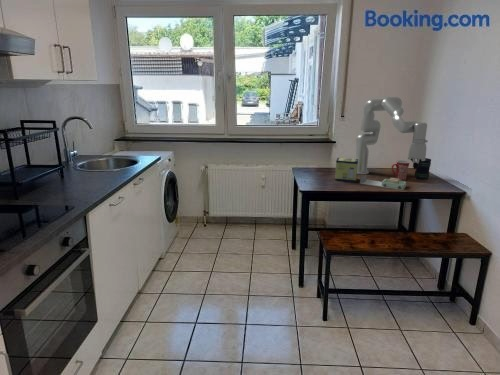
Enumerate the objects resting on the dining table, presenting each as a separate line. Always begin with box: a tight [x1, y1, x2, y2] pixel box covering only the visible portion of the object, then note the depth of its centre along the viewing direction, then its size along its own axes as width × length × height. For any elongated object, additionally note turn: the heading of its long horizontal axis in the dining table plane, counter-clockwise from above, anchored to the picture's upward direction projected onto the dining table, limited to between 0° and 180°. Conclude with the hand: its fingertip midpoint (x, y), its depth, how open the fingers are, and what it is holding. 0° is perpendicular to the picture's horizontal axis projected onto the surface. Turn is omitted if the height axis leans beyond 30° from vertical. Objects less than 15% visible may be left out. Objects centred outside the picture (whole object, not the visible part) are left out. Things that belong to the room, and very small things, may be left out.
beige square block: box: [388, 177, 401, 184], centre depth 238 cm, size 6×6×4 cm
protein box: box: [334, 157, 358, 183], centre depth 254 cm, size 10×16×16 cm
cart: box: [381, 178, 407, 190], centre depth 238 cm, size 14×12×3 cm
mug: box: [391, 160, 411, 181], centre depth 255 cm, size 13×9×14 cm
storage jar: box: [414, 157, 432, 181], centre depth 257 cm, size 10×10×15 cm
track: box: [359, 174, 407, 191], centre depth 242 cm, size 30×12×4 cm, turn 56°
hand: (415, 168), depth 228 cm, fingers closed
